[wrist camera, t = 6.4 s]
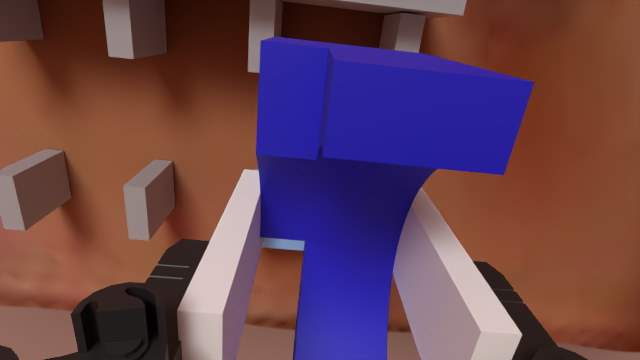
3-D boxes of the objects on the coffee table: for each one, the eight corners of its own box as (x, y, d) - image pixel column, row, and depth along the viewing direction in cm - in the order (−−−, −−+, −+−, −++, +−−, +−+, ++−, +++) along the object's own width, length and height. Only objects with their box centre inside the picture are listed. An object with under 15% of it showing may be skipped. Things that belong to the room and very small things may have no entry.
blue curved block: (275, 36, 11) (230, 48, 5) (424, 53, 11) (534, 81, 5) (259, 338, 15) (226, 514, 10) (363, 346, 16) (388, 522, 10)
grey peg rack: (428, -5, 21) (469, -16, 16) (379, 237, 27) (397, 291, 22) (-19, -61, 20) (-149, -95, 14) (39, 209, 26) (-35, 259, 20)
